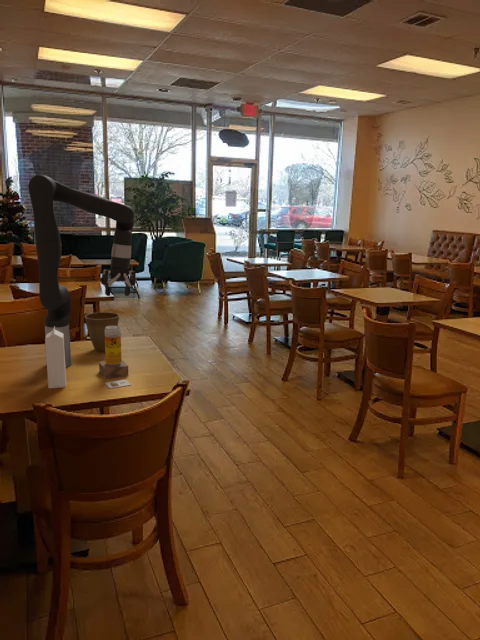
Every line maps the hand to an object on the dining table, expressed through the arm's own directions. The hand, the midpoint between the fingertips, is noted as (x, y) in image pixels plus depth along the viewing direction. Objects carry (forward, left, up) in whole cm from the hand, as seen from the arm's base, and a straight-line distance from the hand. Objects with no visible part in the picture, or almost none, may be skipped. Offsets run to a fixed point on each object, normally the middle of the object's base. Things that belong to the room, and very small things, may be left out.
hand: (117, 295), depth 204 cm
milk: (-27, -13, -29) cm, 42 cm away
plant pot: (0, +23, -29) cm, 37 cm away
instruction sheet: (-7, -22, -29) cm, 37 cm away
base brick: (-5, -10, -29) cm, 31 cm away
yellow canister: (-5, -10, -25) cm, 28 cm away
